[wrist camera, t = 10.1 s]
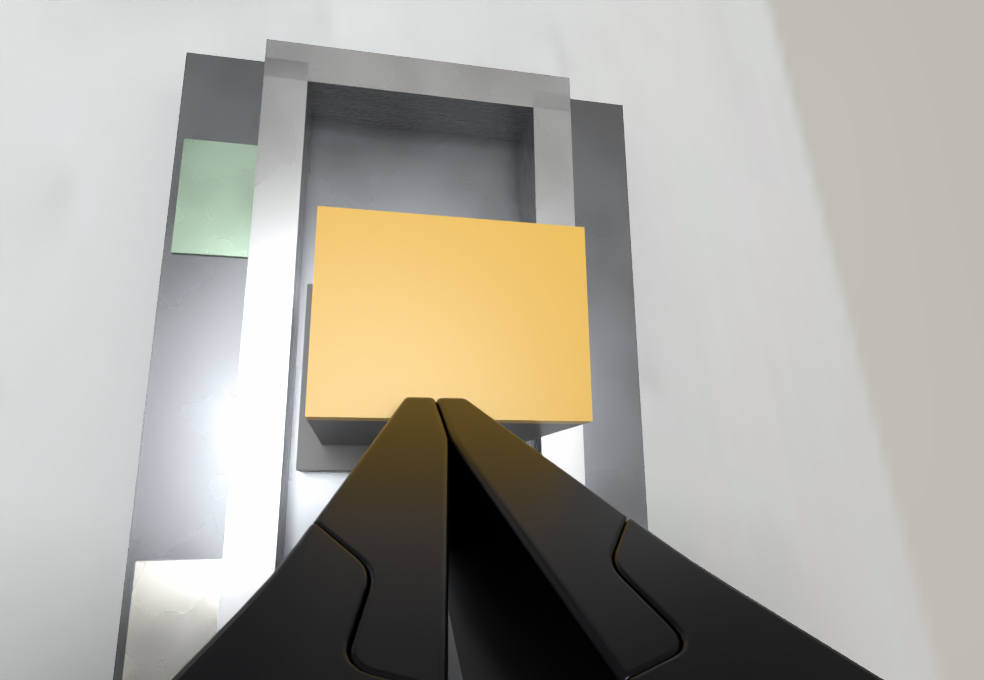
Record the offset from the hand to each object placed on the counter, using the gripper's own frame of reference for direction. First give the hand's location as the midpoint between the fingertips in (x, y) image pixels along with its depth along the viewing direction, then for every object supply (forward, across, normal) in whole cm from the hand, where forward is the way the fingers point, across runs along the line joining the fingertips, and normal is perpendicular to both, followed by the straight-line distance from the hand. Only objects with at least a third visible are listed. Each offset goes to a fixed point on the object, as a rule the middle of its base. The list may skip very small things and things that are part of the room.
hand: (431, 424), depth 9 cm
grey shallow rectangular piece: (+6, 0, -5) cm, 8 cm away
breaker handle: (+6, 0, -4) cm, 7 cm away
